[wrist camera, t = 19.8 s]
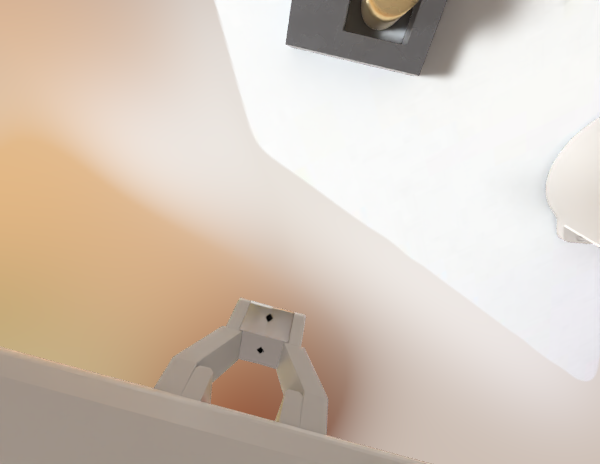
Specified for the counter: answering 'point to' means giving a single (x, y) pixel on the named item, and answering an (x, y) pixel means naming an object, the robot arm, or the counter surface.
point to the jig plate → (357, 48)
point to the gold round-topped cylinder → (384, 12)
